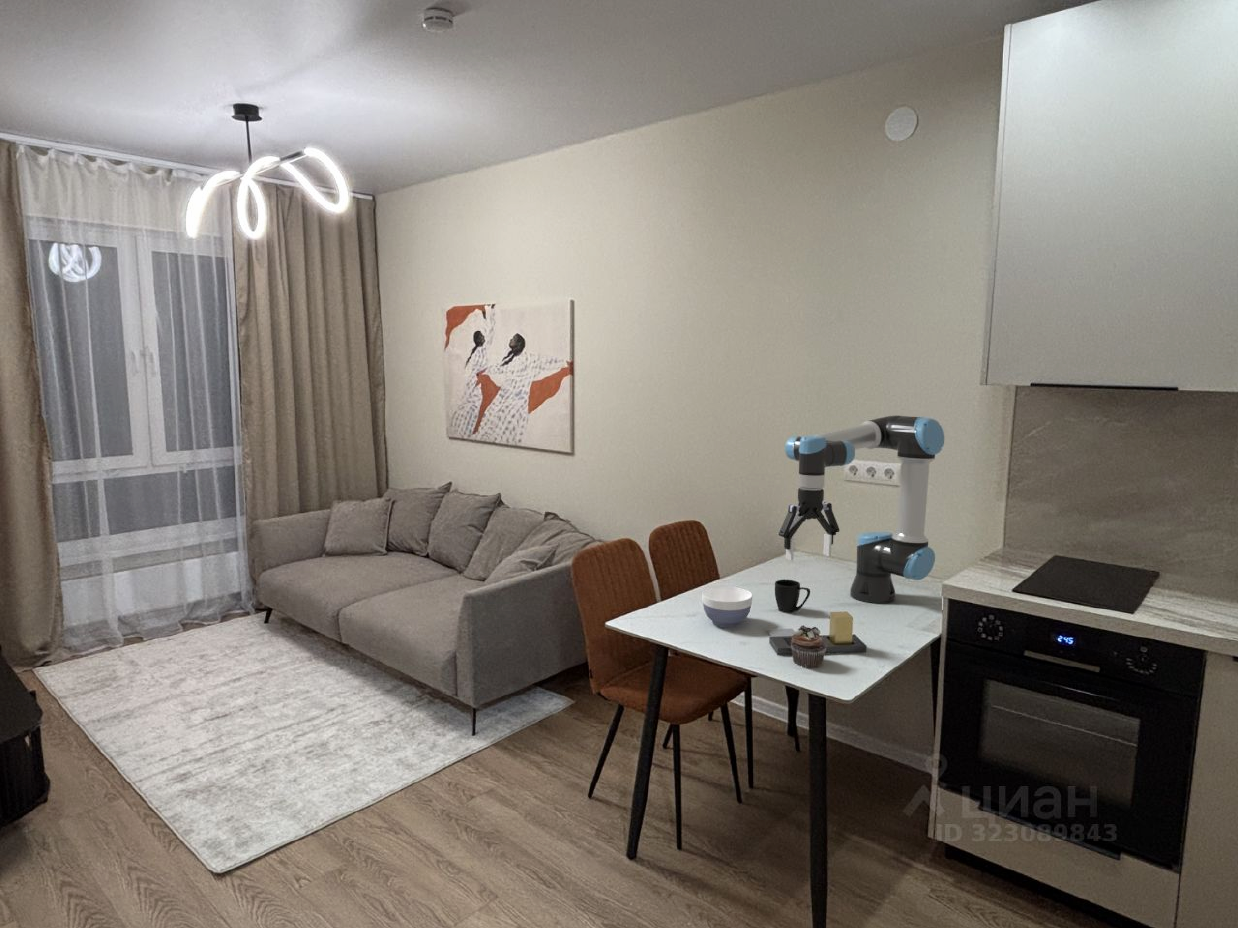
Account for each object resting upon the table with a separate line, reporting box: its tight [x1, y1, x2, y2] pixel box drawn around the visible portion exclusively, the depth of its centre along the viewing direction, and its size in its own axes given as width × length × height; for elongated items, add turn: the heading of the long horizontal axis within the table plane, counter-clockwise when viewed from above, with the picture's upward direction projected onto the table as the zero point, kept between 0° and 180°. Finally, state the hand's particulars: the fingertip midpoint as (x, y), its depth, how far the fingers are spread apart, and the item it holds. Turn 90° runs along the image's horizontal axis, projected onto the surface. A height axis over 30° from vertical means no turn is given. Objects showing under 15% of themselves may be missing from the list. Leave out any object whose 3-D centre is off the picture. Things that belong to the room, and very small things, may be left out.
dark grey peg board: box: [768, 634, 867, 656], centre depth 220 cm, size 26×9×2 cm, turn 94°
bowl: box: [701, 586, 753, 629], centre depth 241 cm, size 16×16×10 cm
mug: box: [774, 579, 811, 614], centre depth 252 cm, size 8×12×10 cm
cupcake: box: [790, 624, 826, 669], centre depth 210 cm, size 10×10×10 cm
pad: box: [766, 628, 796, 637], centre depth 231 cm, size 8×8×1 cm
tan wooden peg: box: [828, 610, 854, 645], centre depth 220 cm, size 5×5×10 cm
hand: (808, 557), depth 227 cm, fingers open, 13 cm apart
